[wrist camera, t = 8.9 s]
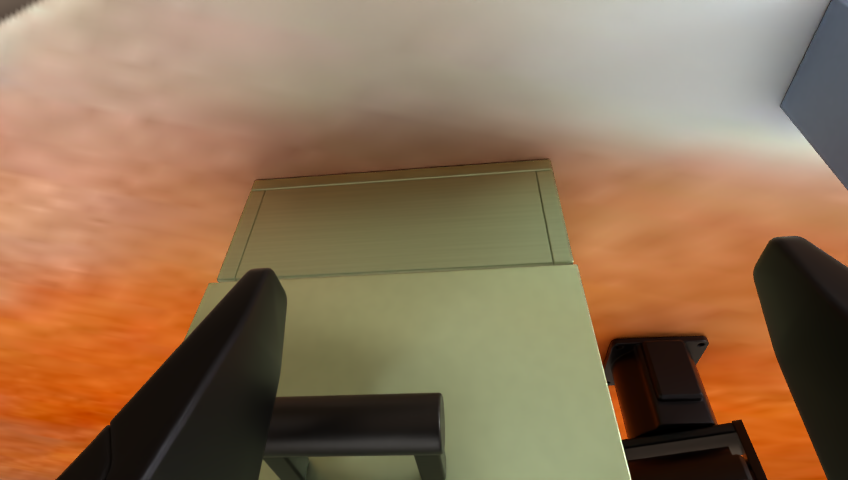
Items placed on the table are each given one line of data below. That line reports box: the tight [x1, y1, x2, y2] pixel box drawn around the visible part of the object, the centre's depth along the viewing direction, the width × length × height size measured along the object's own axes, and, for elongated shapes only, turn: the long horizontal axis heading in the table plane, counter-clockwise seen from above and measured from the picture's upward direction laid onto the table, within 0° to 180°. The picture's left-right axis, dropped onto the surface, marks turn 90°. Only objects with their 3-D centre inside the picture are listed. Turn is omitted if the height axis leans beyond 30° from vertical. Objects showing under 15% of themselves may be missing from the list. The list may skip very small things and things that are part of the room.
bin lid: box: [184, 264, 632, 480], centre depth 14 cm, size 12×15×4 cm
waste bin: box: [217, 159, 574, 283], centre depth 26 cm, size 12×15×6 cm
